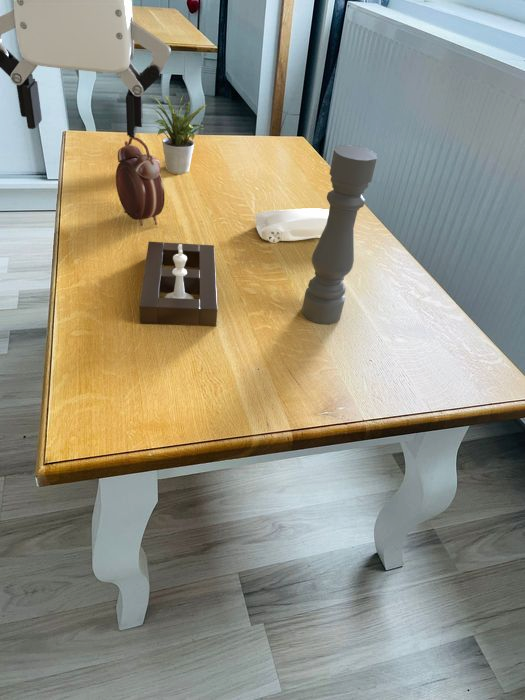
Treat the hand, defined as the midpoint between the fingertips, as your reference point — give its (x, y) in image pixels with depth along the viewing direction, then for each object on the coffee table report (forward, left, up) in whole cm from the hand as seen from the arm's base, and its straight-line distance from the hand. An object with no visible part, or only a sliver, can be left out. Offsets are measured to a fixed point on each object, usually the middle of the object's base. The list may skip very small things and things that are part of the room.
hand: (84, 129), depth 57 cm
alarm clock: (+2, +39, -28) cm, 48 cm away
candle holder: (+32, +10, -28) cm, 44 cm away
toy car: (+33, +37, -28) cm, 57 cm away
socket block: (+10, +15, -28) cm, 33 cm away
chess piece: (+10, +11, -28) cm, 32 cm away
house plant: (+7, +66, -28) cm, 72 cm away
